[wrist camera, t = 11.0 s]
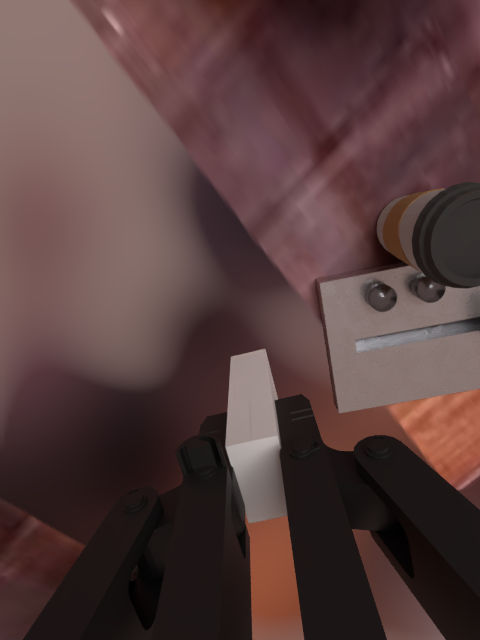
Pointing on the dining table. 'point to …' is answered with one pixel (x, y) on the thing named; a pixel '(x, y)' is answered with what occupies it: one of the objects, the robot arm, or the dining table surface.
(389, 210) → the coffee cup
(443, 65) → the dining table surface
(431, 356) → the console
